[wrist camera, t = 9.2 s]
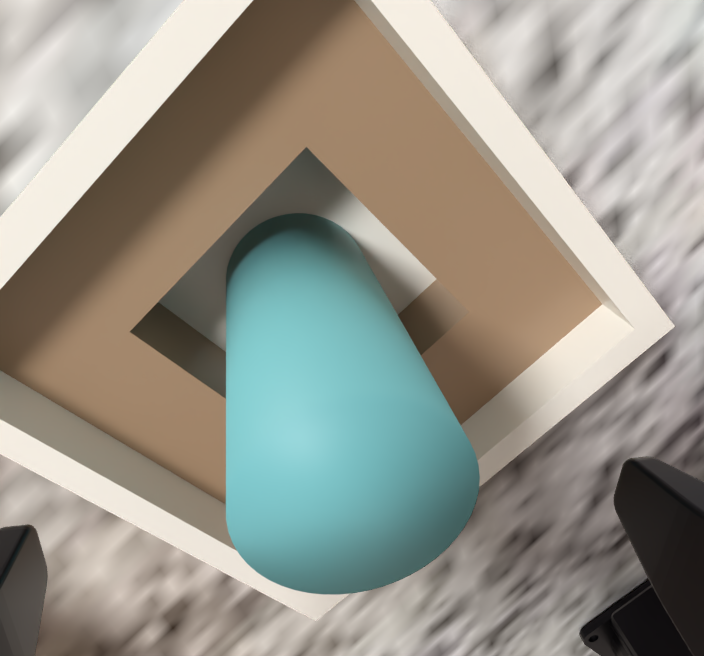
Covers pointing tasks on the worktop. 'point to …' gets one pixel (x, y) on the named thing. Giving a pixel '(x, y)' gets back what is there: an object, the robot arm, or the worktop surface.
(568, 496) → the worktop surface
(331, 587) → the peg
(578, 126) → the worktop surface
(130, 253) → the peg box
